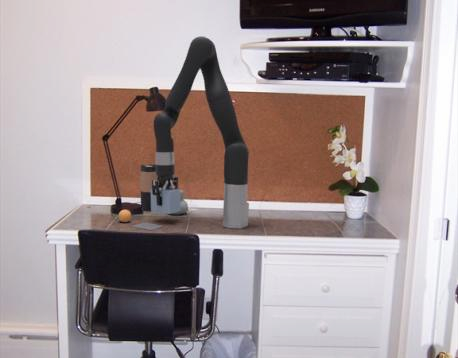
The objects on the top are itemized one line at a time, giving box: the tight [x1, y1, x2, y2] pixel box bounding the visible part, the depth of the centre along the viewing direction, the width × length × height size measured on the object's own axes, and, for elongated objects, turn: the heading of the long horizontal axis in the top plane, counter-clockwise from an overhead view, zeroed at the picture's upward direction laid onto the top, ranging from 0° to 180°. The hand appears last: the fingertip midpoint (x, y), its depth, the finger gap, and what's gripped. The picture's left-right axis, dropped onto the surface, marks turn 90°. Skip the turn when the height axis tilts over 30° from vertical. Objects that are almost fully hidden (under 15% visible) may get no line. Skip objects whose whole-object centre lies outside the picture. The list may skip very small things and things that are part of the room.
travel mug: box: [140, 163, 158, 212], centre depth 227 cm, size 8×8×20 cm
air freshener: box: [171, 189, 189, 216], centre depth 222 cm, size 11×8×10 cm
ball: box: [118, 209, 132, 223], centre depth 204 cm, size 5×5×5 cm
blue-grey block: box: [150, 188, 181, 215], centre depth 205 cm, size 10×7×9 cm
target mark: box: [131, 222, 165, 231], centre depth 198 cm, size 10×8×1 cm
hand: (165, 204), depth 205 cm, fingers closed on blue-grey block, 6 cm apart
